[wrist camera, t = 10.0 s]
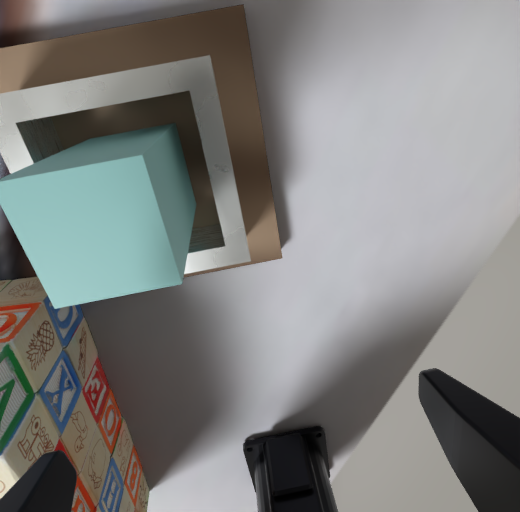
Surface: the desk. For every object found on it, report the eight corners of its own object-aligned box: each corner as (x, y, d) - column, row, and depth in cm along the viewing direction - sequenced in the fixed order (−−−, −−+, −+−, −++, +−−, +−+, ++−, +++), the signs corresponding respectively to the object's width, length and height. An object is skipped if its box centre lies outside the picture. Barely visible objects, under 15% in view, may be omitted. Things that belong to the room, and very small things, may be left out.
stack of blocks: (-45, 283, 20) (-366, 530, 9) (69, 269, 20) (-106, 490, 9) (76, 502, 30) (-8, 752, 19) (152, 490, 30) (114, 728, 19)
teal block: (196, 204, 18) (182, 284, 11) (119, 219, 18) (54, 309, 11) (175, 122, 16) (142, 154, 9) (89, 138, 16) (-11, 183, 9)
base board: (279, 250, 21) (282, 258, 20) (78, 290, 21) (72, 299, 20) (241, 8, 16) (243, 4, 15) (-31, 58, 15) (-47, 56, 14)
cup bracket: (246, 236, 19) (251, 261, 17) (91, 266, 19) (70, 296, 16) (211, 59, 15) (209, 55, 13) (16, 95, 15) (-26, 98, 13)
